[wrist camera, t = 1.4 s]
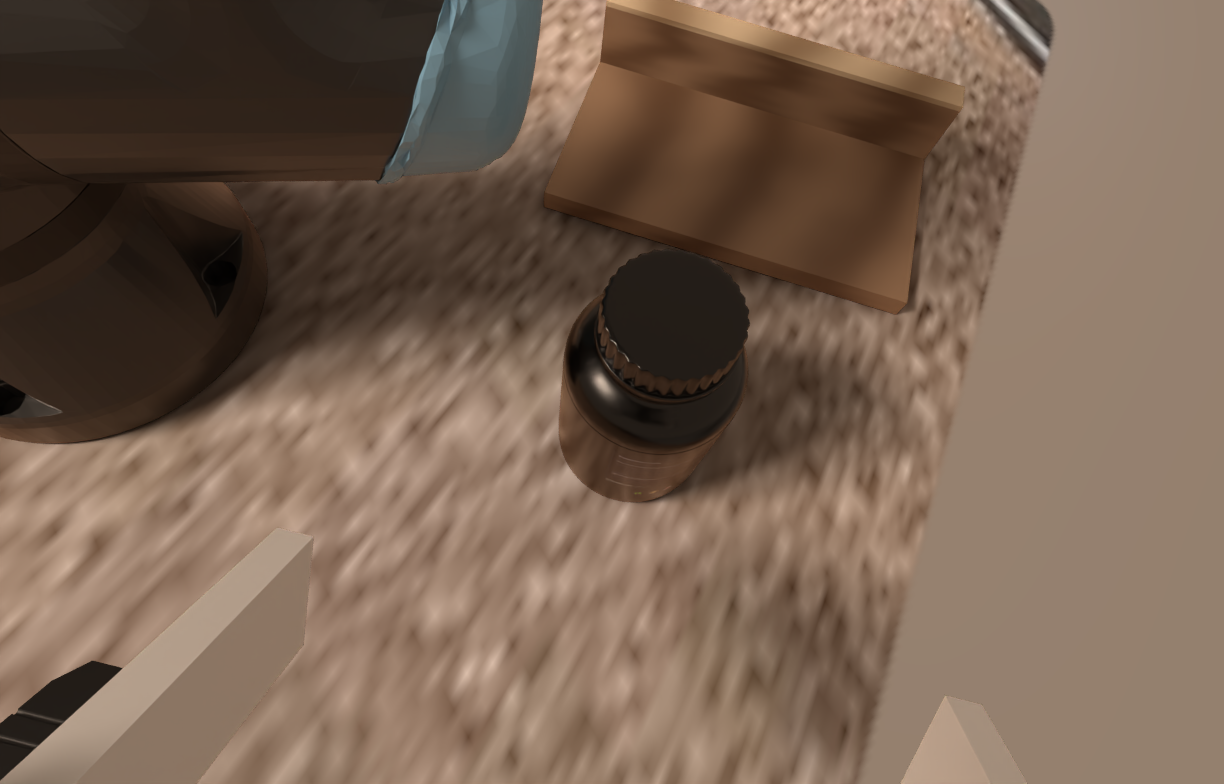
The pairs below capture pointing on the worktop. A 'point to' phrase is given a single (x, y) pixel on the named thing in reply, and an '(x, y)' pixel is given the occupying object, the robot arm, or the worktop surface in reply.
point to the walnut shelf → (754, 149)
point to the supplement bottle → (652, 375)
